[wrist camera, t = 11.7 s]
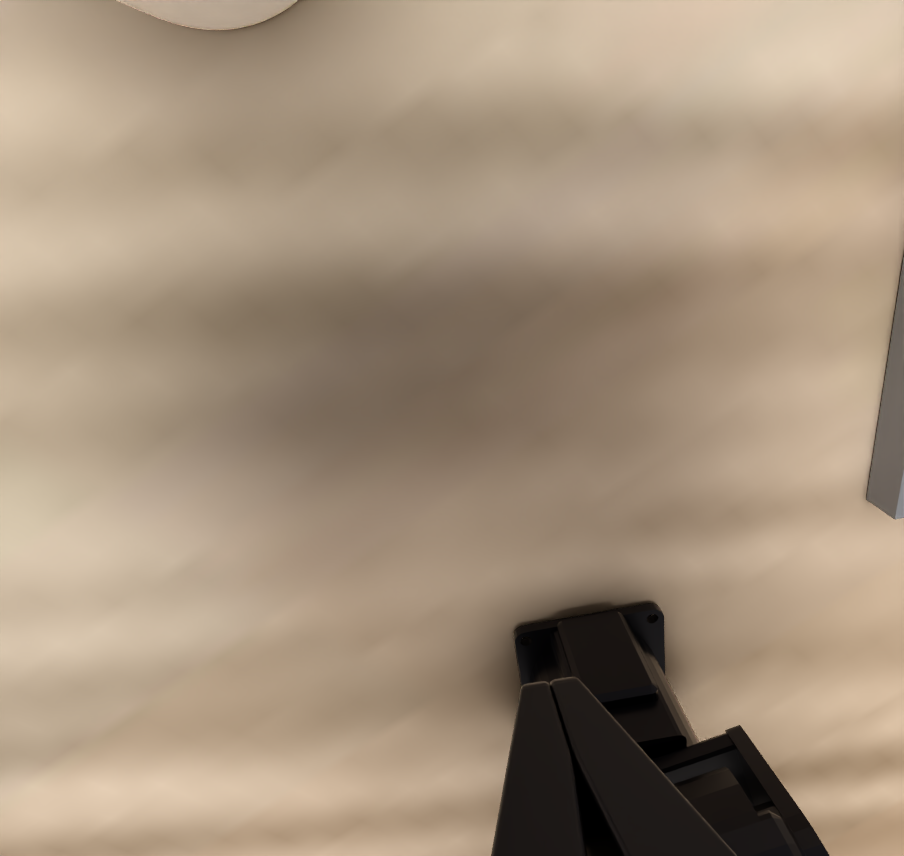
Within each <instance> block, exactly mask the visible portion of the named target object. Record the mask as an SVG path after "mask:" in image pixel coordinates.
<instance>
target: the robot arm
mask: <svg viewBox="0 0 904 856" xmlns="http://www.w3.org/2000/svg"><path fill="white" fill-rule="evenodd" d="M651 614H653V615H652V616H650V617H648V616H649V615H651ZM513 637H514V644H515V650H516V656H517V663H518V669H519V675H520V682H521V690H520V696H519V701H518V707H517V713H516V718H515V724H514V730H513V735H512V741H511V746H510V752H509V758H508V763H507V769H506V775H505V780H504V786H503V792H502V797H501V803H500V809H499V814H498V820H497V825H496V831H495V837H494V842H493V848H492V854H491V856H829V854H828V852H827V851H826V849H825V847H824V846H823V844H822V842H821V841H820V839H819V837H818V836H817V834H816V833H815V831H814V829H813V828H812V826H811V825H810V823H809V822H808V820H807V819H806V817H805V816H804V814H803V813H802V811H801V810H800V809H799V807H798V806H797V804H796V803H795V802H794V800H793V799H792V797H791V796H790V795H789V793H788V792H787V790H786V789H785V788H784V786H783V785H782V783H781V782H780V781H779V779H778V778H777V776H776V775H775V773H774V772H773V771H772V769H771V768H770V766H769V765H768V764H767V762H766V761H765V759H764V758H763V757H762V755H761V754H760V752H759V751H758V750H757V748H756V747H755V745H754V744H753V743H752V741H751V740H750V738H749V737H748V736H747V734H746V733H745V731H744V730H743V729H742V727H741V726H740V725H739V726H736V727H733V728H730V729H727V730H725V732H726V733H725V734H722V735H719V736H716V737H713V738H710V739H707V740H704V741H702V742H699V741H698V739H697V737H696V735H695V733H694V731H693V729H692V727H691V725H690V723H689V721H688V719H687V717H686V715H685V714H684V712H683V710H682V708H681V706H680V704H679V702H678V700H677V698H676V696H675V694H674V692H673V690H672V688H671V686H670V684H669V682H668V681H667V679H666V677H665V653H664V615H663V613H662V611H661V609H660V608H659V606H658V605H656V604H653V603H648V604H642V605H637V606H631V607H626V608H620V609H614V610H609V611H603V612H597V613H592V614H586V615H580V616H575V617H569V618H564V619H558V620H552V621H547V622H541V623H535V624H530V625H524V626H521V627H518V628H517V629H516V630H515V632H514V634H513ZM523 637H528V638H526V639H522V638H523Z"/></svg>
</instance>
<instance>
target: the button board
mask: <svg viewBox="0 0 904 856" xmlns="http://www.w3.org/2000/svg"><path fill="white" fill-rule="evenodd" d="M866 500H868V501H869V502H870V503H872V504H873V505H875V506H876V507H878V508H879V509H880V510H882V511H883V512H885V513H886V514H888V515H889V516H891V517H892V518H893V519H900V518H904V258H903V264H902V271H901V277H900V284H899V290H898V297H897V303H896V310H895V316H894V323H893V329H892V336H891V342H890V349H889V355H888V362H887V368H886V375H885V381H884V388H883V394H882V401H881V407H880V414H879V420H878V427H877V433H876V440H875V446H874V453H873V459H872V466H871V472H870V479H869V485H868V492H867V498H866Z"/></svg>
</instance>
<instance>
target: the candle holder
mask: <svg viewBox="0 0 904 856" xmlns="http://www.w3.org/2000/svg"><path fill="white" fill-rule="evenodd" d="M116 1H118V2H121V3H123V4H125V5H127V6H129V7H132V8H134V9H136V10H139V11H141V12H143V13H146V14H148V15H150V16H153V17H156V18H158V19H161V20H164V21H167V22H170V23H173V24H177V25H181V26H185V27H190V28H196V29H204V30H229V29H237V28H243V27H247V26H251V25H255V24H258V23H260V22H263V21H266V20H268V19H270V18H272V17H274V16H276V15H278V14H280V13H281V12H283V11H284V10H286V9H288V8H289V7H290V6H292V5H293V4H294V3H296V2H297V1H298V0H116Z"/></svg>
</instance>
